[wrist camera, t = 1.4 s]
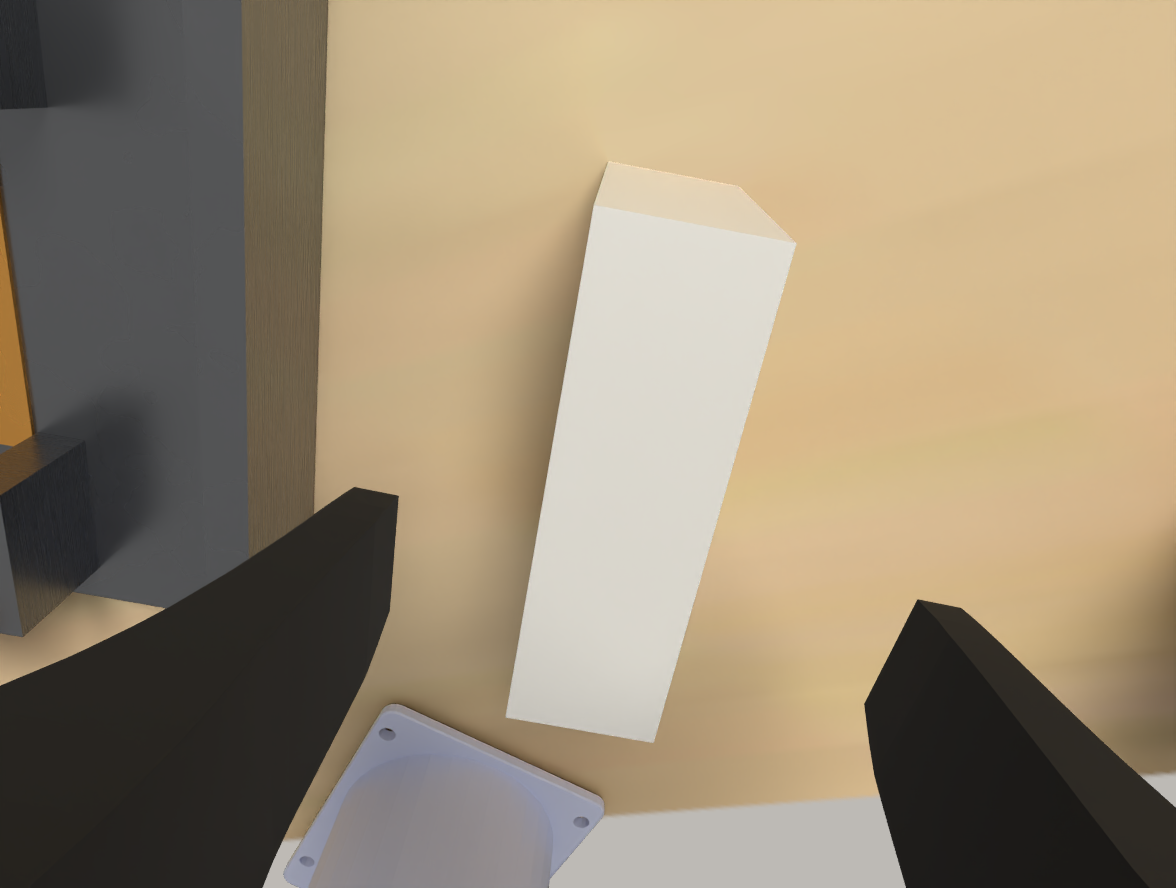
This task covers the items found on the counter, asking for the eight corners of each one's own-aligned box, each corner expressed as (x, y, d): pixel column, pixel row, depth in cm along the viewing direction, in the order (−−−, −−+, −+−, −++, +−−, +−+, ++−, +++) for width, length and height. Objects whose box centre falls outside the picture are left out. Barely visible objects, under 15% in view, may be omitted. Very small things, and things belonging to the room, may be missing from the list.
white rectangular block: (648, 552, 22) (653, 742, 16) (543, 532, 22) (505, 717, 16) (738, 185, 18) (796, 243, 11) (608, 160, 18) (593, 205, 11)
